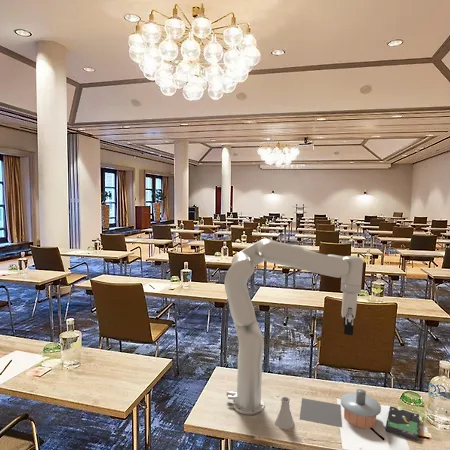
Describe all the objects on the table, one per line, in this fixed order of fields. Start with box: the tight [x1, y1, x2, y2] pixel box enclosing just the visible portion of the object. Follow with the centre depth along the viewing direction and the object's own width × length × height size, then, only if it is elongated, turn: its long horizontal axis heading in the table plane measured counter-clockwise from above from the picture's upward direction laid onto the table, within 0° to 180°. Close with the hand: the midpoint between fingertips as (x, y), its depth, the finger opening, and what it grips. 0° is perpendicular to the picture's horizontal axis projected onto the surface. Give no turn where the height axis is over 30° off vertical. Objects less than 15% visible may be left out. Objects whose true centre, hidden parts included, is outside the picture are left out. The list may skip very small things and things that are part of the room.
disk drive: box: [385, 406, 420, 442], centre depth 131 cm, size 10×3×15 cm
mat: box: [299, 397, 343, 428], centre depth 137 cm, size 15×15×1 cm
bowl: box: [343, 407, 377, 429], centre depth 133 cm, size 11×11×6 cm
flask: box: [274, 396, 295, 431], centre depth 129 cm, size 7×7×10 cm
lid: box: [340, 388, 382, 417], centre depth 133 cm, size 14×14×6 cm
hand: (347, 330), depth 141 cm, fingers open, 9 cm apart
